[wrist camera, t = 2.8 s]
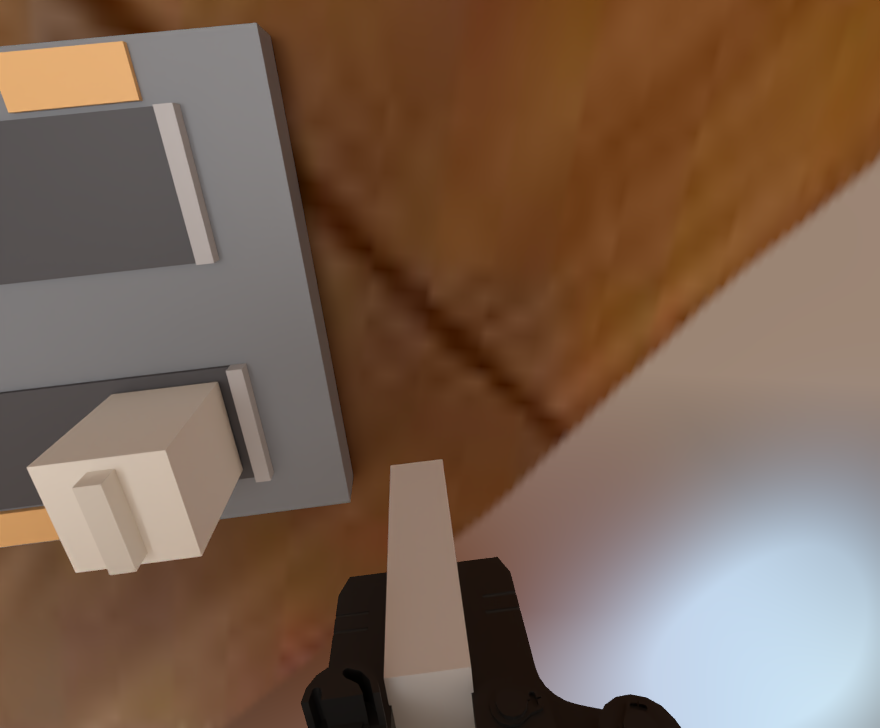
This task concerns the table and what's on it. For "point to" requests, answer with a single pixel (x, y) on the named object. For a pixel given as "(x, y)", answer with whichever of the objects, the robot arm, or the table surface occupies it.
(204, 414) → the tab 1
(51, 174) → the switch board
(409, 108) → the table surface
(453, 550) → the robot arm
